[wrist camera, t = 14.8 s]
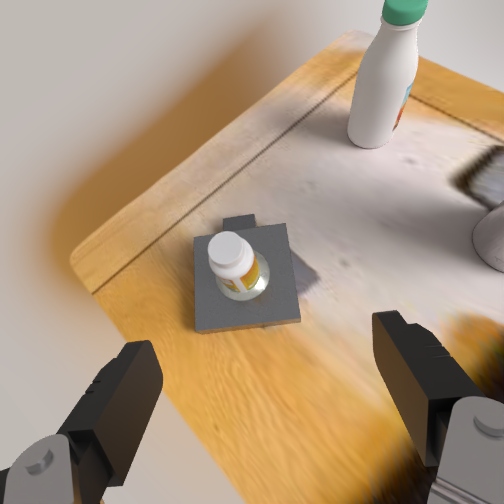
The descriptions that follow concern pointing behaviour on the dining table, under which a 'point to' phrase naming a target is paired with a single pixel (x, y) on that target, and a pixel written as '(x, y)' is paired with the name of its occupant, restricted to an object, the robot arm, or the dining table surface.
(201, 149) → the dining table surface
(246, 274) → the supplement bottle
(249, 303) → the grey coaster with tab
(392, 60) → the milk bottle
